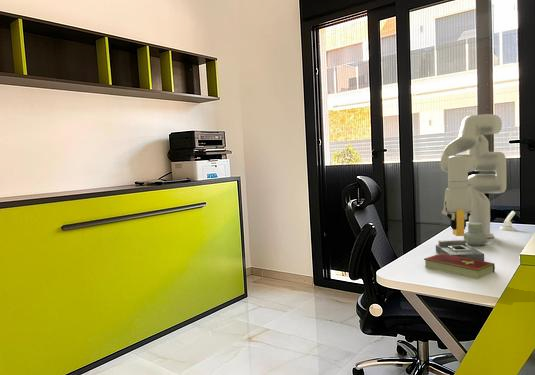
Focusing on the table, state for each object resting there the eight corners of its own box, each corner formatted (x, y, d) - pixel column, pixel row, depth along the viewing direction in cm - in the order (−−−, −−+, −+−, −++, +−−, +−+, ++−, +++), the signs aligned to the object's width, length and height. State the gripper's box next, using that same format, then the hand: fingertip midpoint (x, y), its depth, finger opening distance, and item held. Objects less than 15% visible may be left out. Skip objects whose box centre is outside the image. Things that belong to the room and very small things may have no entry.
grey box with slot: (435, 251, 182) (435, 240, 181) (466, 250, 181) (465, 239, 180) (450, 262, 164) (450, 250, 163) (484, 261, 163) (484, 249, 162)
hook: (527, 219, 217) (520, 213, 214) (514, 238, 218) (506, 232, 215) (515, 215, 224) (508, 209, 221) (502, 232, 225) (495, 227, 222)
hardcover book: (441, 262, 166) (441, 252, 165) (494, 273, 149) (494, 262, 148) (423, 268, 159) (423, 258, 158) (477, 280, 142) (477, 269, 141)
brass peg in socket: (452, 233, 174) (452, 208, 173) (460, 233, 173) (459, 208, 173) (456, 236, 169) (456, 209, 168) (464, 235, 169) (464, 209, 168)
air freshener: (488, 247, 185) (488, 225, 184) (468, 247, 186) (468, 225, 186) (481, 241, 195) (481, 221, 194) (463, 241, 197) (462, 221, 196)
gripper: (474, 183, 173) (474, 226, 174) (434, 185, 174) (435, 227, 176) (482, 185, 165) (482, 230, 167) (440, 186, 167) (441, 231, 168)
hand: (458, 228), depth 171 cm, fingers closed on brass peg in socket, 3 cm apart
